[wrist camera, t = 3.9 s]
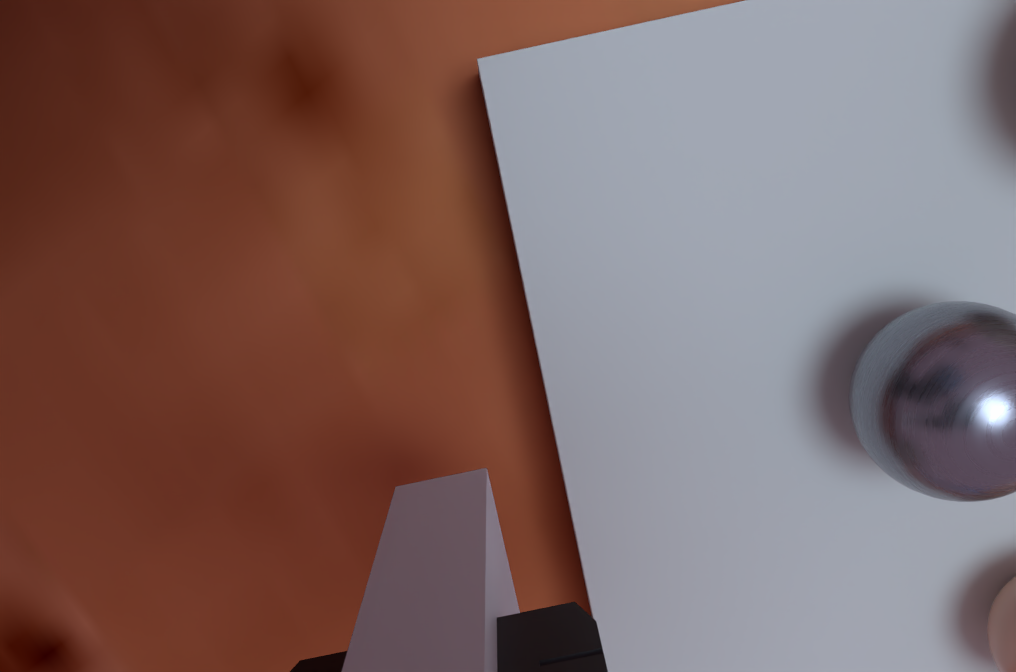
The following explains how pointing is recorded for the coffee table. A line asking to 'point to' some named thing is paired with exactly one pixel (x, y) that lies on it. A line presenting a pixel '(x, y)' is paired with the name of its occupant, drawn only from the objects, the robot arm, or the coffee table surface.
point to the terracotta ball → (1003, 628)
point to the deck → (760, 318)
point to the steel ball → (941, 400)
